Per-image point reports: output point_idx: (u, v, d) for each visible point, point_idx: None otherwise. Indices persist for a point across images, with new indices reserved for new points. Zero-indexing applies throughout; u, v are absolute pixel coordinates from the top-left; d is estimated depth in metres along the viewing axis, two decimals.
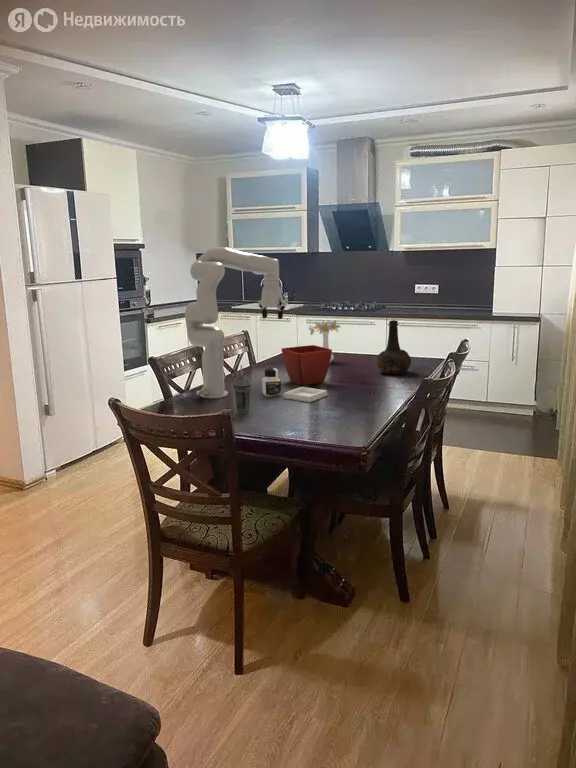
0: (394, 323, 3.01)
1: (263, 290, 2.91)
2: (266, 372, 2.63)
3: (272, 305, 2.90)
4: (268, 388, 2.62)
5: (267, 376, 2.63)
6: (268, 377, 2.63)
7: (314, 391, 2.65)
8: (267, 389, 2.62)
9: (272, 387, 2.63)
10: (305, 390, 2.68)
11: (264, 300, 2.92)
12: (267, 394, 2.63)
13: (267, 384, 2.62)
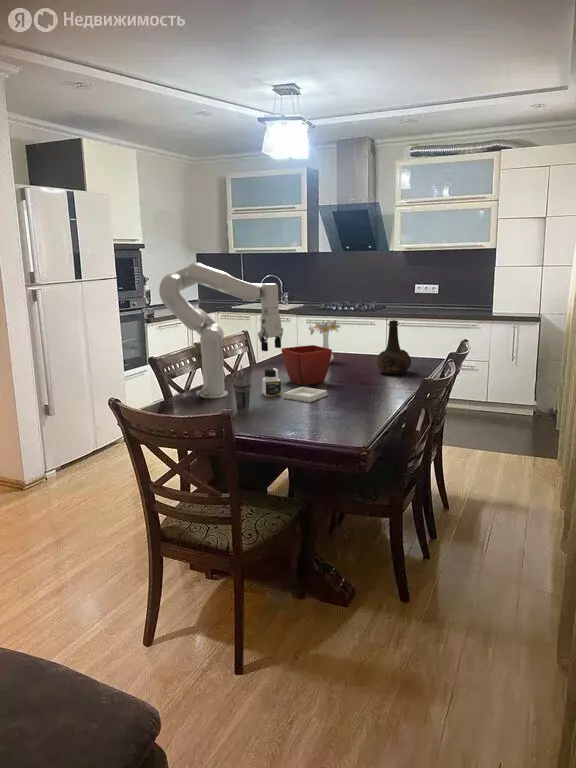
0: (394, 323, 3.01)
1: (270, 319, 2.55)
2: (266, 372, 2.63)
3: (278, 334, 2.61)
4: (268, 388, 2.62)
5: (267, 376, 2.63)
6: (268, 377, 2.63)
7: (314, 391, 2.65)
8: (267, 389, 2.62)
9: (272, 387, 2.63)
10: (305, 390, 2.68)
11: (271, 330, 2.57)
12: (267, 394, 2.63)
13: (267, 384, 2.62)
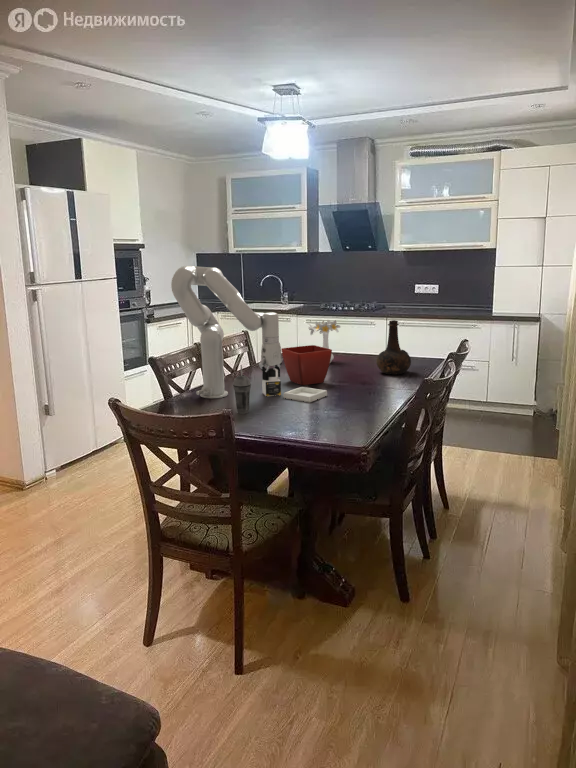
0: (394, 323, 3.01)
1: (270, 348, 2.58)
2: None
3: (278, 362, 2.64)
4: (268, 388, 2.62)
5: None
6: None
7: (314, 391, 2.65)
8: (267, 389, 2.62)
9: (272, 387, 2.63)
10: (305, 390, 2.68)
11: (272, 359, 2.60)
12: (267, 394, 2.63)
13: (267, 384, 2.62)
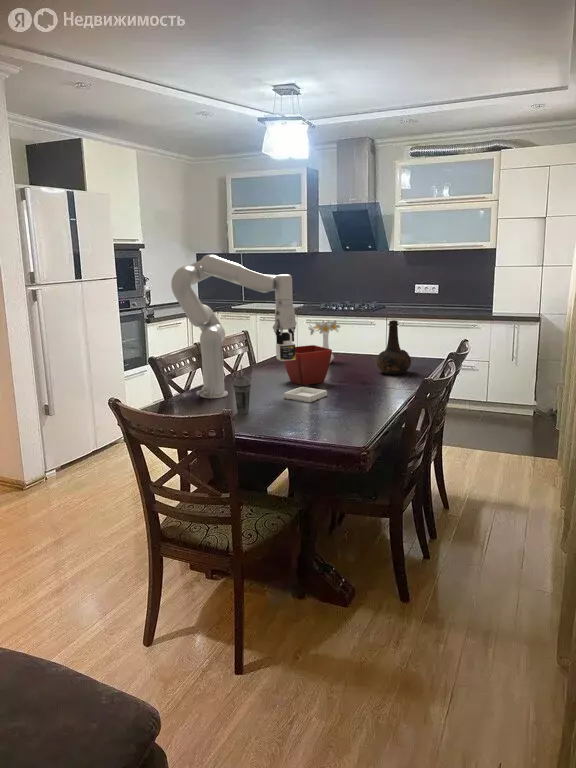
0: (394, 323, 3.01)
1: (284, 311, 2.52)
2: None
3: (292, 326, 2.58)
4: (282, 352, 2.56)
5: None
6: None
7: (314, 391, 2.65)
8: (281, 353, 2.56)
9: (286, 351, 2.56)
10: (305, 390, 2.68)
11: (286, 322, 2.53)
12: (282, 358, 2.57)
13: (281, 348, 2.55)
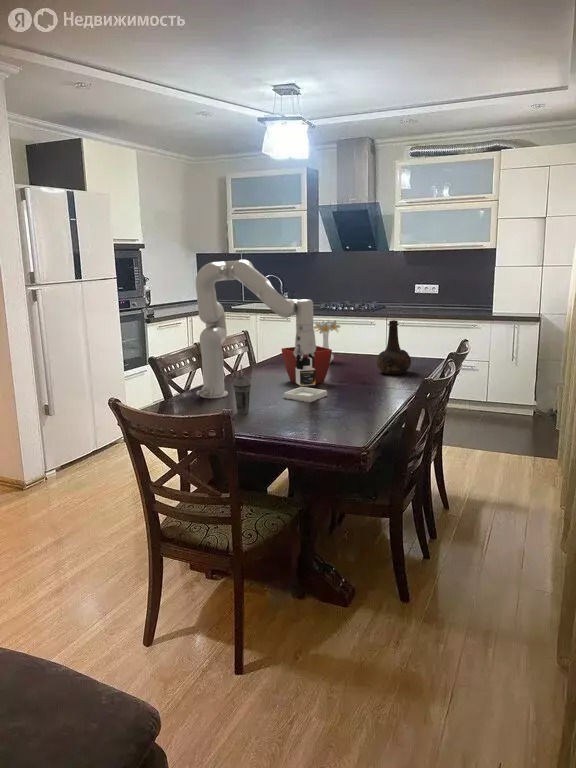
0: (394, 323, 3.01)
1: (305, 336, 2.51)
2: None
3: (313, 351, 2.56)
4: (302, 377, 2.55)
5: None
6: None
7: (314, 391, 2.65)
8: (301, 378, 2.55)
9: (306, 376, 2.55)
10: (305, 390, 2.68)
11: (306, 347, 2.52)
12: (302, 383, 2.55)
13: (301, 373, 2.54)
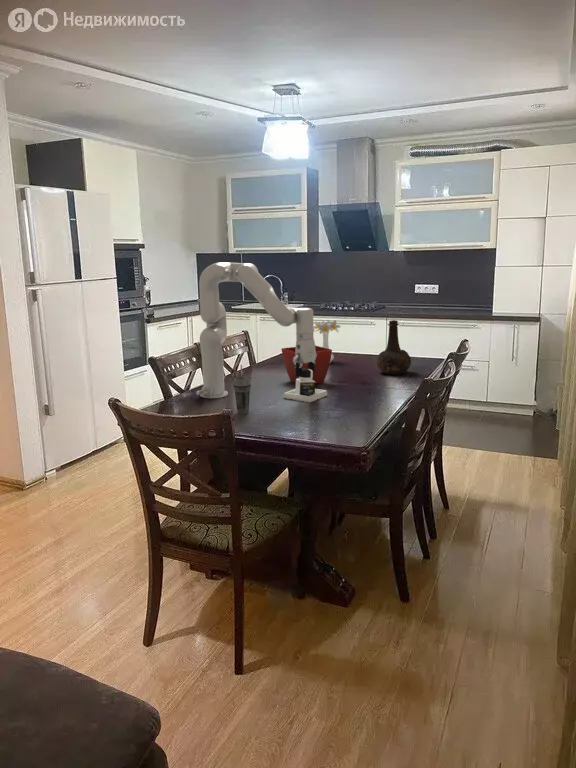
0: (394, 323, 3.01)
1: (305, 344, 2.51)
2: None
3: (313, 359, 2.57)
4: (302, 389, 2.56)
5: (302, 376, 2.57)
6: (303, 377, 2.56)
7: None
8: (301, 390, 2.56)
9: (306, 388, 2.57)
10: None
11: (306, 355, 2.53)
12: None
13: (301, 385, 2.56)
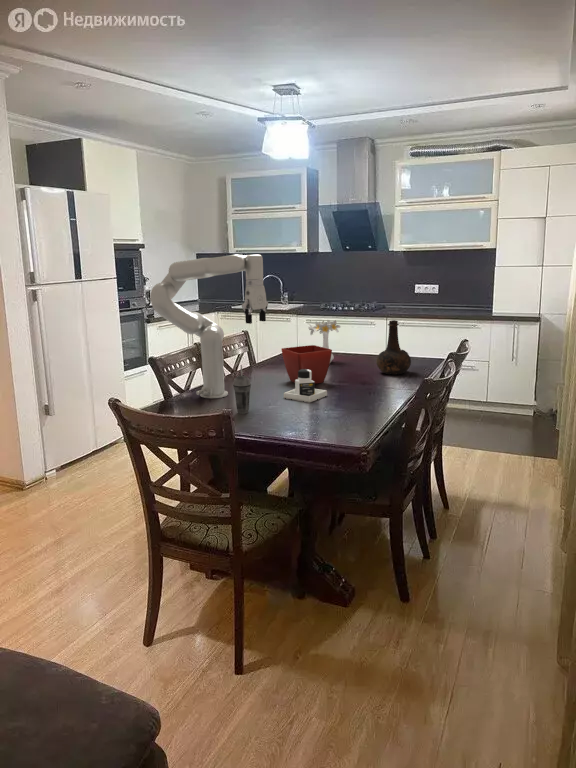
0: (394, 323, 3.01)
1: (254, 291, 2.52)
2: (300, 373, 2.56)
3: (263, 306, 2.58)
4: (302, 390, 2.56)
5: (301, 377, 2.56)
6: (302, 378, 2.56)
7: None
8: (301, 391, 2.56)
9: (306, 388, 2.56)
10: None
11: (256, 302, 2.54)
12: None
13: (300, 386, 2.56)
